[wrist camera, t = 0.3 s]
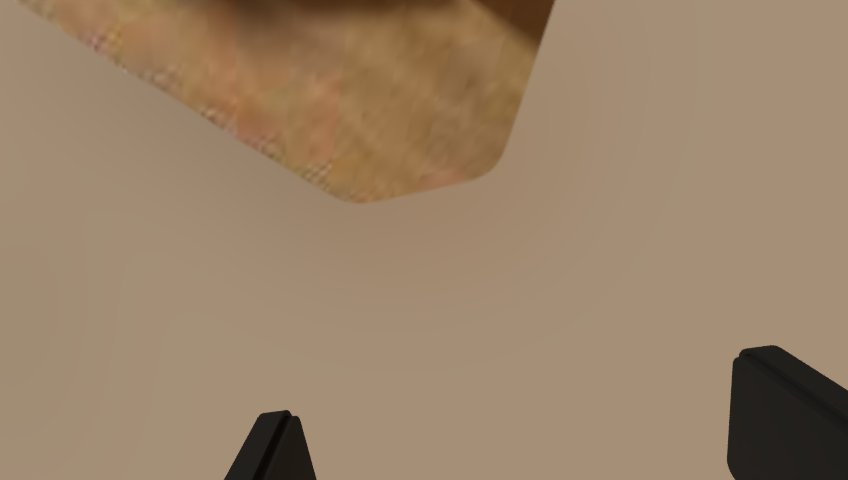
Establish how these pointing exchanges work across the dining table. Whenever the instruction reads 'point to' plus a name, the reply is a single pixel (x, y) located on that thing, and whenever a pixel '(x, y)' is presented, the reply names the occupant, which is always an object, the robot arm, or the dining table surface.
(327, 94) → the dining table surface
